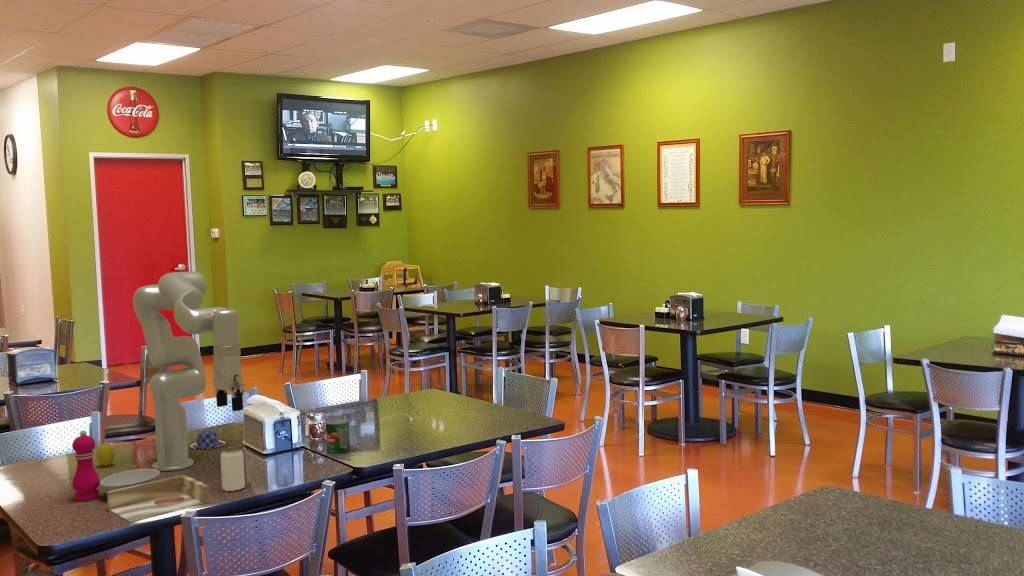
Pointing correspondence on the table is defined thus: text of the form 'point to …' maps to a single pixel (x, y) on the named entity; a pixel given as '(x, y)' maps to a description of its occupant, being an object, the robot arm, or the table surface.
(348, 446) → the canned tomato
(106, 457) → the lemon
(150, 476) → the dish
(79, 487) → the pepper mill
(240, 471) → the can
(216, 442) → the blue patterned low dome
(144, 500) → the gold shallow open box
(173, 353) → the robot arm
